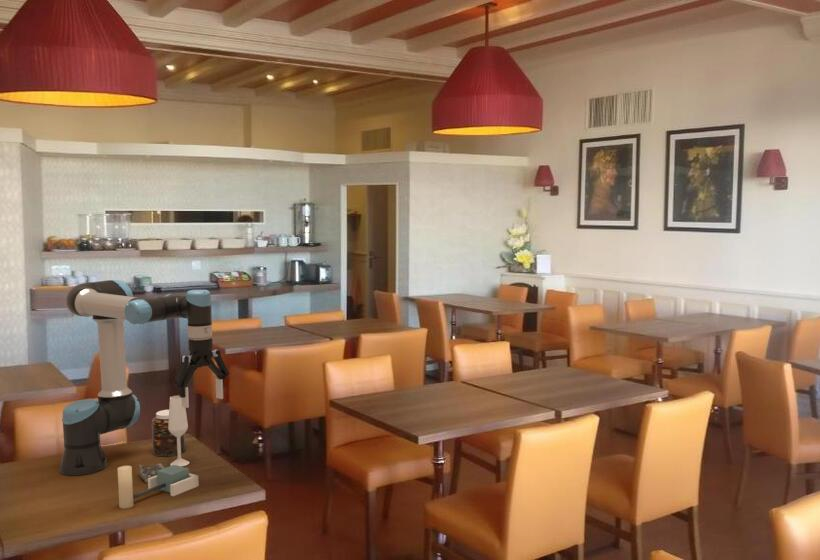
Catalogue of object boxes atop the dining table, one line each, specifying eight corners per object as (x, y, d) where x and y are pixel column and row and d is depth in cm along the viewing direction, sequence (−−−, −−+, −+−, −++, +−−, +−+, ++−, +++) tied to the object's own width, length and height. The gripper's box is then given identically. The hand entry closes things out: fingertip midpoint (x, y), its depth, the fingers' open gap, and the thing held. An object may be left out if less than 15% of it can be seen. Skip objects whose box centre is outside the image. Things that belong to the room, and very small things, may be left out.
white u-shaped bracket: (148, 489, 251) (147, 478, 251) (173, 479, 260) (173, 469, 260) (173, 496, 245) (172, 485, 244) (198, 486, 253) (198, 475, 253)
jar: (191, 451, 289) (189, 411, 288) (162, 459, 281) (160, 418, 279) (175, 444, 297) (173, 406, 296) (146, 452, 289) (144, 412, 288)
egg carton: (138, 475, 265) (137, 463, 265) (160, 471, 269) (160, 459, 268) (144, 484, 256) (143, 472, 256) (167, 480, 260) (167, 468, 259)
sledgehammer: (113, 505, 238) (111, 467, 236) (174, 482, 257) (173, 447, 256) (128, 510, 234) (126, 471, 233) (189, 486, 253) (187, 450, 252)
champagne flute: (166, 463, 276) (163, 397, 274) (184, 459, 280) (181, 393, 278) (175, 468, 271) (172, 400, 269) (192, 463, 275) (190, 397, 273)
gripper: (174, 345, 238) (177, 412, 240) (238, 333, 258) (240, 396, 260) (159, 342, 243) (162, 409, 245) (223, 331, 262) (226, 393, 264)
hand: (202, 402), depth 252 cm, fingers open, 13 cm apart
